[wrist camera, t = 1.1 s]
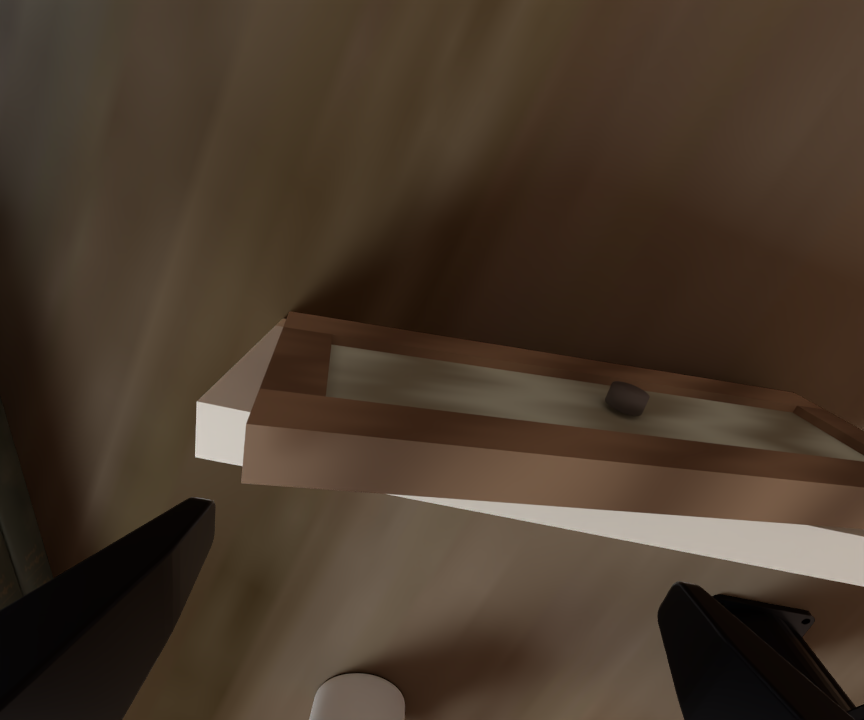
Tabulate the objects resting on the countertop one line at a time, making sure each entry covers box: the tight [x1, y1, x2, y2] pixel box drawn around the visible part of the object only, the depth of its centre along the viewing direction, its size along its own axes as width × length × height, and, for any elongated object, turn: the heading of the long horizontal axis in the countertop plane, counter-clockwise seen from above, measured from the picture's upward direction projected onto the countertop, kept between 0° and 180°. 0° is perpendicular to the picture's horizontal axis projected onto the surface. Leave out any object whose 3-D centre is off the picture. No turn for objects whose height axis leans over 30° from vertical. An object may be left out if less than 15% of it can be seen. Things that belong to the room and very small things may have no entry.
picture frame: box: [241, 311, 864, 529], centre depth 15 cm, size 22×2×7 cm, turn 77°
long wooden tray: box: [195, 319, 864, 587], centre depth 19 cm, size 26×6×8 cm, turn 77°
